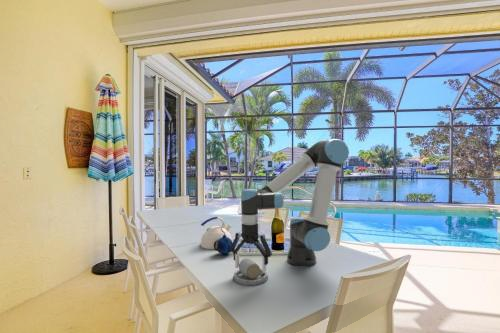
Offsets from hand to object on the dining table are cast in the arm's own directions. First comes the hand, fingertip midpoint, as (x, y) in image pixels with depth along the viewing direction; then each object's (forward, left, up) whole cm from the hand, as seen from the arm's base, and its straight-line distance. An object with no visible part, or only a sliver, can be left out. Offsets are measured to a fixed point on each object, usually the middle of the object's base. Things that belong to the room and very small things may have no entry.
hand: (250, 269), depth 127 cm
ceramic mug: (0, -1, -4) cm, 4 cm away
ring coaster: (0, 0, -4) cm, 4 cm away
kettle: (+42, -39, -4) cm, 58 cm away
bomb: (+28, -24, -4) cm, 37 cm away
